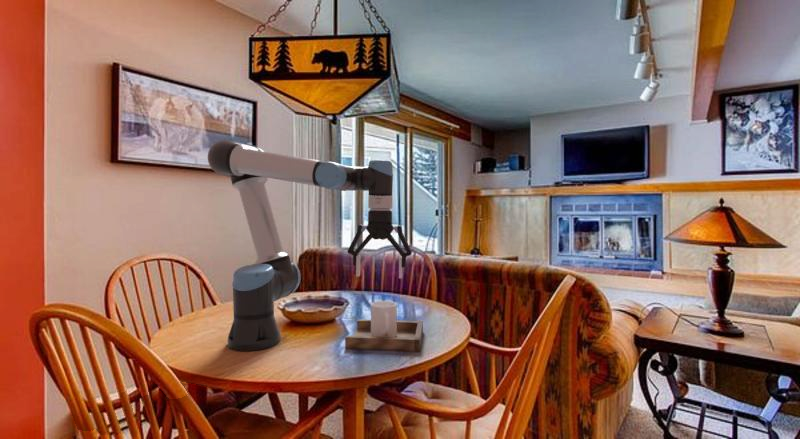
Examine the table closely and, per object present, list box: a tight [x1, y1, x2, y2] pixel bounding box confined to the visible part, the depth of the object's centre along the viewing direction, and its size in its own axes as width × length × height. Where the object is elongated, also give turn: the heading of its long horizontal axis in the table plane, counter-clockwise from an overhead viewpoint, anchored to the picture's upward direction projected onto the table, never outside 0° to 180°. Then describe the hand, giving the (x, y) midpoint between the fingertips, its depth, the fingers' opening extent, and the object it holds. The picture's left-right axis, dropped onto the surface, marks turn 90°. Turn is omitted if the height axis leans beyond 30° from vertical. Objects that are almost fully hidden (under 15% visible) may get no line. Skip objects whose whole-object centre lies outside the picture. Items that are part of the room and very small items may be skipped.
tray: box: [344, 318, 424, 353], centre depth 126 cm, size 22×18×4 cm
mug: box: [370, 300, 398, 337], centre depth 125 cm, size 12×8×10 cm
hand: (379, 276), depth 127 cm, fingers open, 13 cm apart
